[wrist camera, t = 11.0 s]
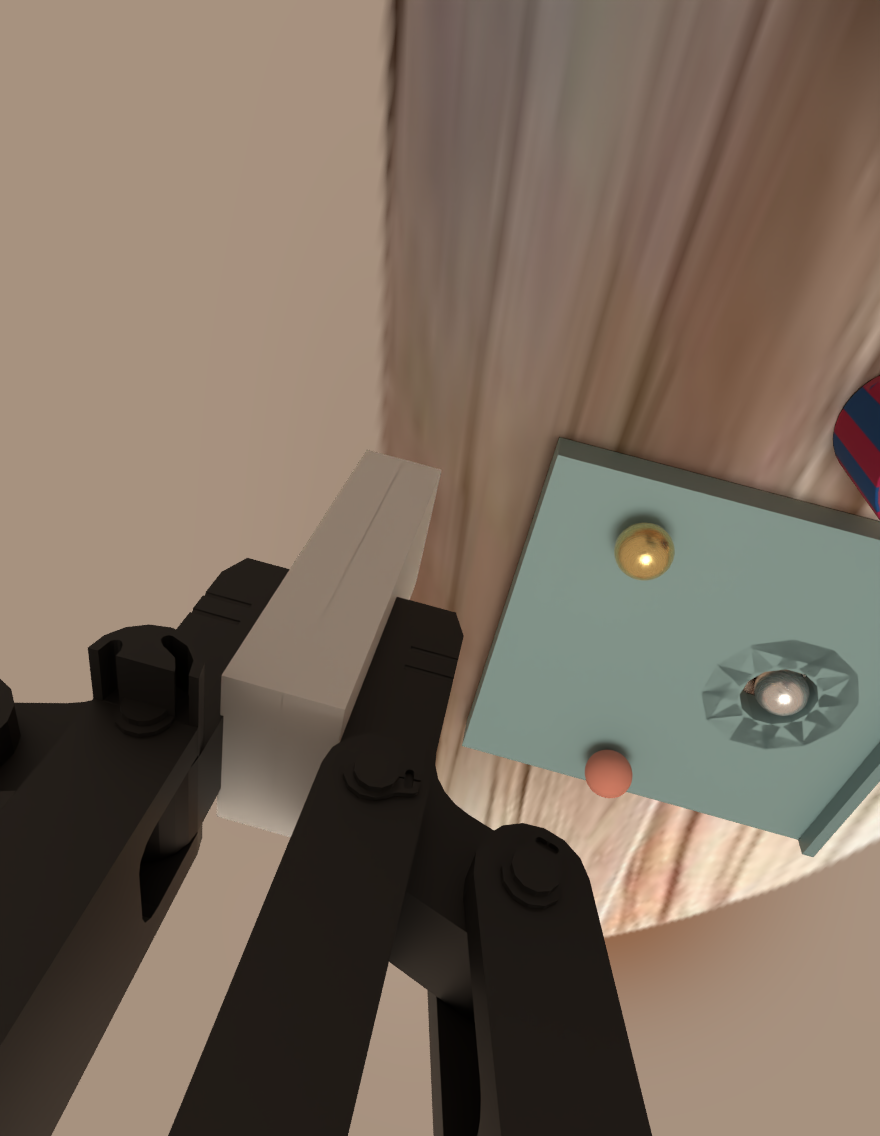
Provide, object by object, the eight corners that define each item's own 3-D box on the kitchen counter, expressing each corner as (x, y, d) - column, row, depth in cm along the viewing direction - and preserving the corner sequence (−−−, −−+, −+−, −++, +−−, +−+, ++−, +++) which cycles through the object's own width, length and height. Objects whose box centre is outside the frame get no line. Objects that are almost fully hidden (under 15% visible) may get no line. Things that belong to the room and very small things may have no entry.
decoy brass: (624, 505, 39) (627, 534, 37) (680, 520, 39) (687, 550, 36) (605, 552, 41) (606, 583, 38) (659, 566, 41) (664, 598, 38)
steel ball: (812, 701, 43) (824, 675, 45) (761, 671, 44) (776, 647, 46) (786, 734, 45) (799, 708, 47) (738, 705, 46) (753, 680, 48)
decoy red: (593, 734, 49) (593, 770, 46) (638, 747, 49) (640, 783, 46) (578, 764, 51) (578, 800, 48) (622, 776, 51) (623, 813, 48)
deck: (559, 436, 40) (557, 464, 37) (1009, 555, 40) (1044, 593, 36) (466, 721, 54) (459, 758, 51) (800, 814, 53) (813, 857, 50)
